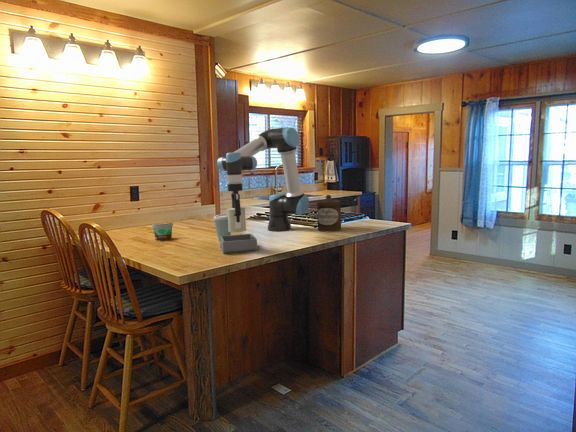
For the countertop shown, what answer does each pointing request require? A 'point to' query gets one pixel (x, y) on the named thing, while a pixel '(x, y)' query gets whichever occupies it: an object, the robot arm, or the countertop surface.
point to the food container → (163, 231)
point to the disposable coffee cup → (221, 225)
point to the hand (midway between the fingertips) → (237, 226)
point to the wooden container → (329, 214)
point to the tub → (238, 243)
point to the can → (232, 220)
